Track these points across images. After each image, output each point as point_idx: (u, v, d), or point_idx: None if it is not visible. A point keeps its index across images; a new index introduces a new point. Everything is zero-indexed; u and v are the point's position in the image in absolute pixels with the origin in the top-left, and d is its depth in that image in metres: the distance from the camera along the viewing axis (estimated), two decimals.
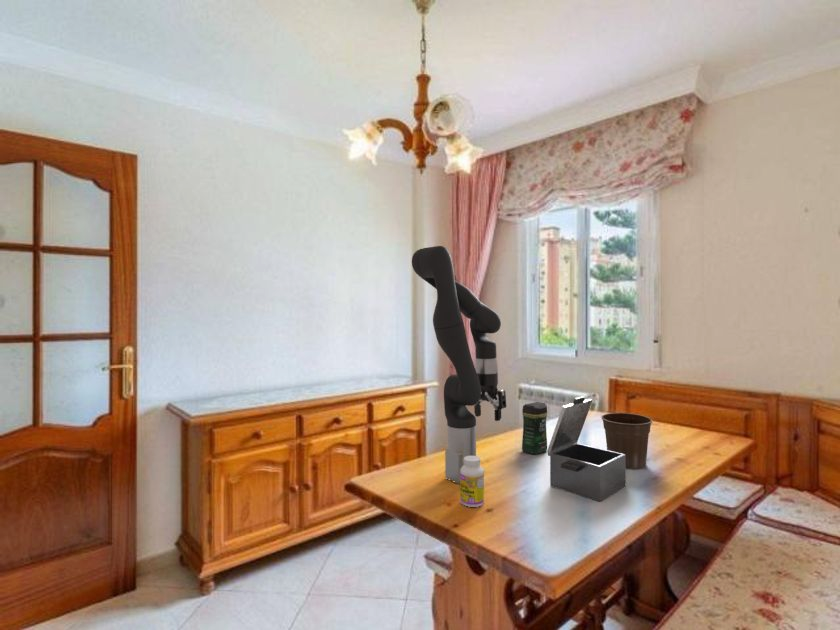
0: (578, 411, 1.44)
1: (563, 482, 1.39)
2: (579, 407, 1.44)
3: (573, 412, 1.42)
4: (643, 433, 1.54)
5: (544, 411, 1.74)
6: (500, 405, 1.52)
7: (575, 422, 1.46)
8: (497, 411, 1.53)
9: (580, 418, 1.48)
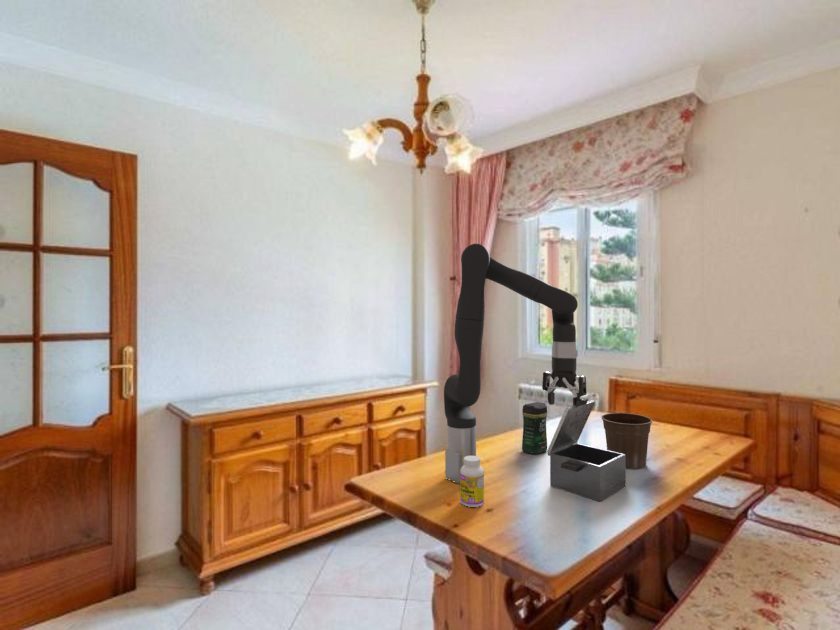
0: (580, 412, 1.44)
1: (563, 482, 1.39)
2: (582, 408, 1.43)
3: (575, 413, 1.42)
4: (643, 433, 1.54)
5: (544, 411, 1.74)
6: (580, 392, 1.41)
7: (577, 423, 1.46)
8: (576, 398, 1.43)
9: (582, 419, 1.47)
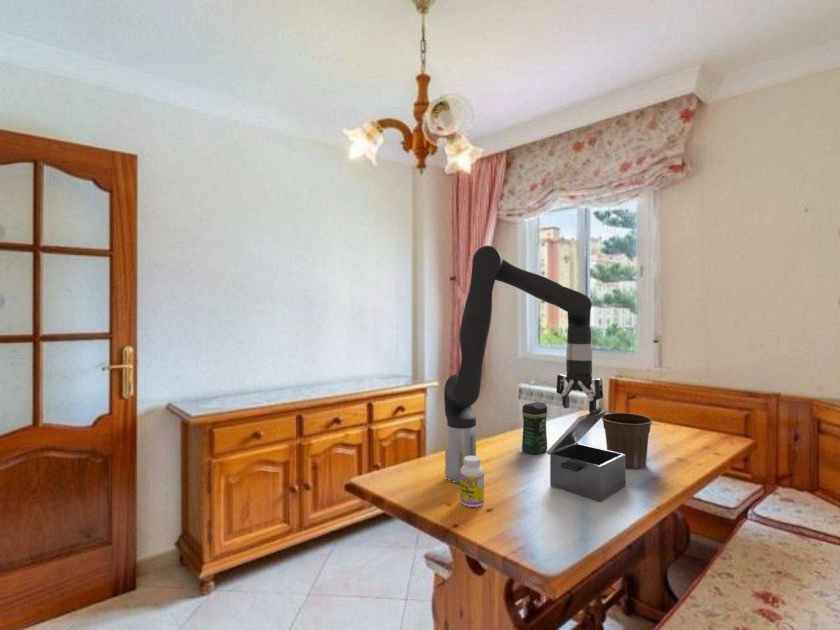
0: (590, 421, 1.42)
1: (563, 482, 1.39)
2: (593, 418, 1.41)
3: (585, 422, 1.39)
4: (643, 433, 1.54)
5: (544, 411, 1.74)
6: (597, 395, 1.37)
7: (583, 429, 1.44)
8: (592, 402, 1.39)
9: (589, 425, 1.45)
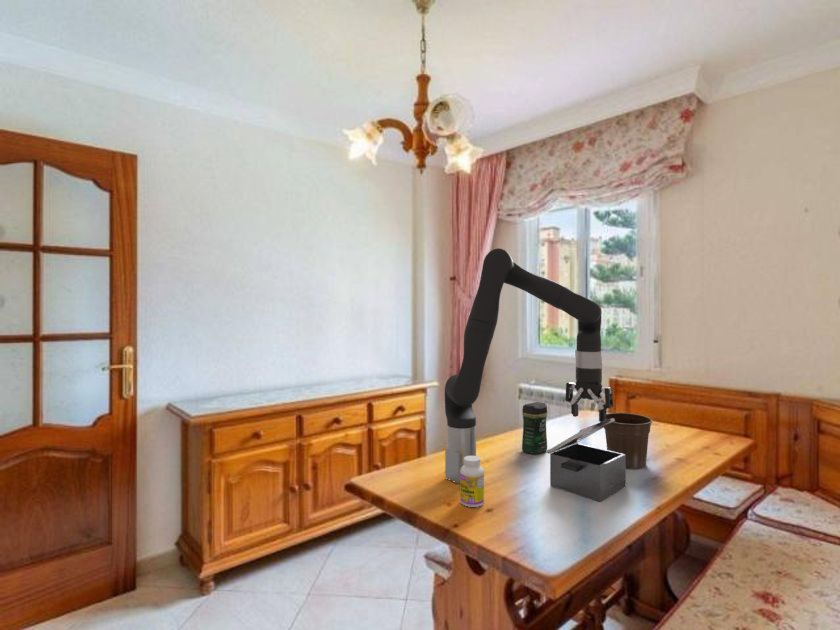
0: (596, 429, 1.40)
1: (563, 482, 1.39)
2: (600, 427, 1.39)
3: (592, 430, 1.38)
4: (643, 433, 1.54)
5: (544, 411, 1.74)
6: (607, 404, 1.35)
7: (587, 434, 1.43)
8: (602, 411, 1.37)
9: (594, 431, 1.44)
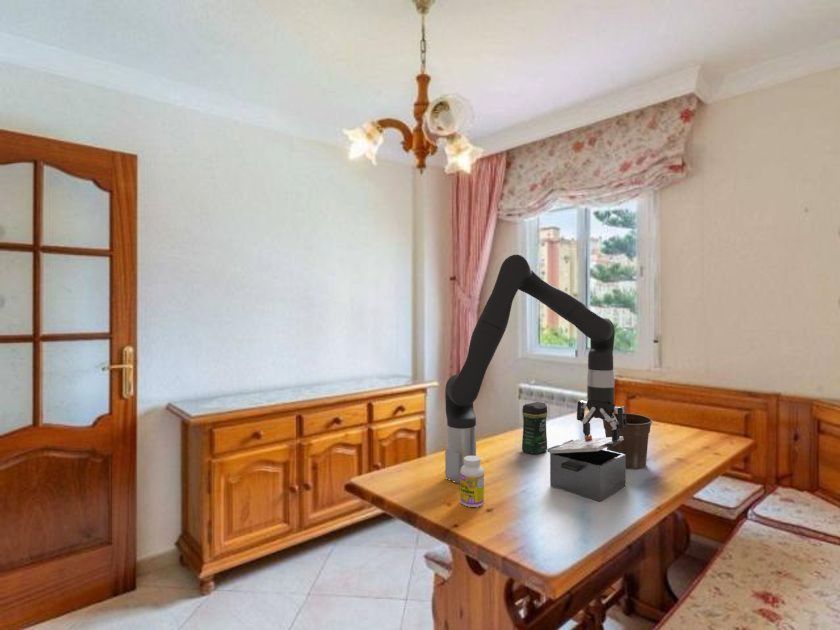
0: None
1: (563, 482, 1.39)
2: None
3: None
4: (643, 433, 1.54)
5: (544, 411, 1.74)
6: (620, 424, 1.32)
7: None
8: (615, 431, 1.34)
9: None
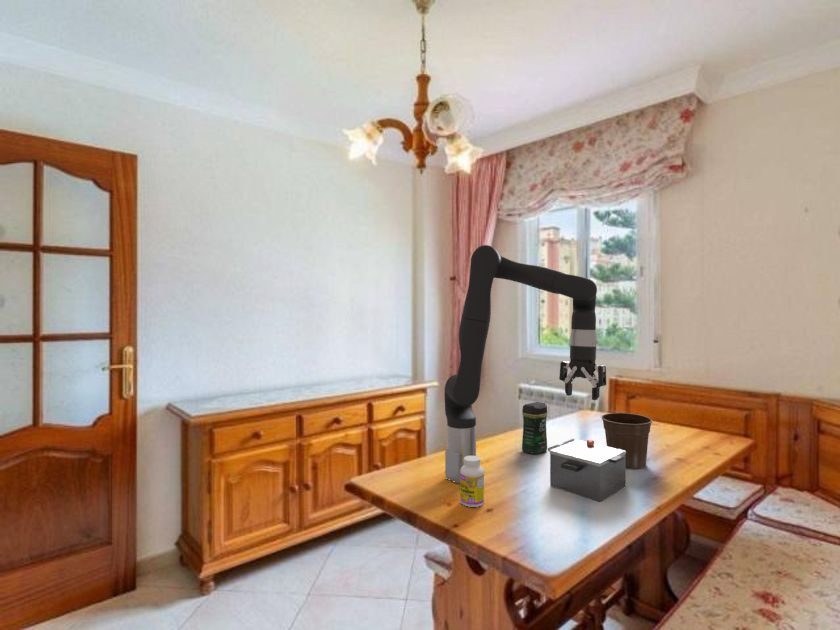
0: None
1: (563, 482, 1.39)
2: None
3: None
4: (643, 433, 1.54)
5: (544, 411, 1.74)
6: (600, 382, 1.35)
7: None
8: (595, 389, 1.36)
9: None
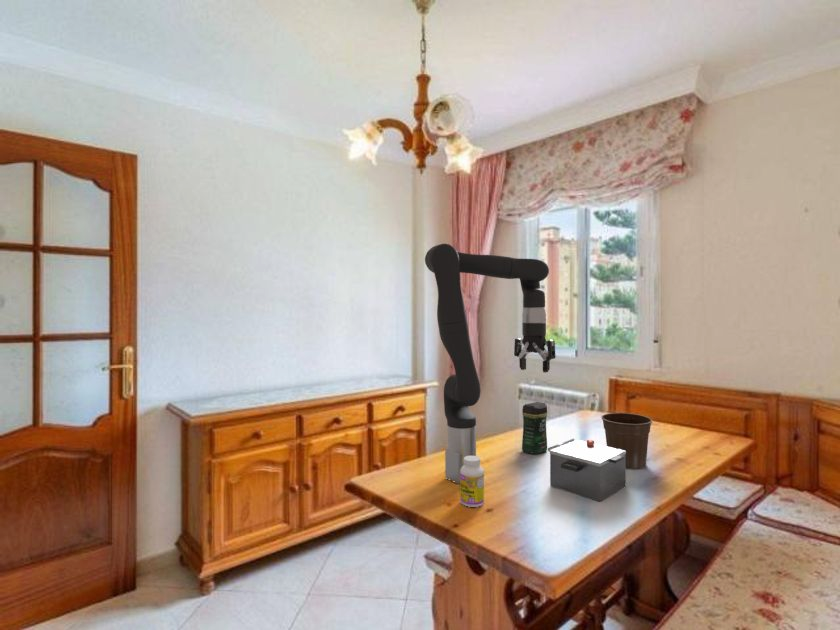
0: None
1: (563, 482, 1.39)
2: None
3: None
4: (643, 433, 1.54)
5: (544, 411, 1.74)
6: (549, 355, 1.46)
7: None
8: (545, 362, 1.47)
9: None
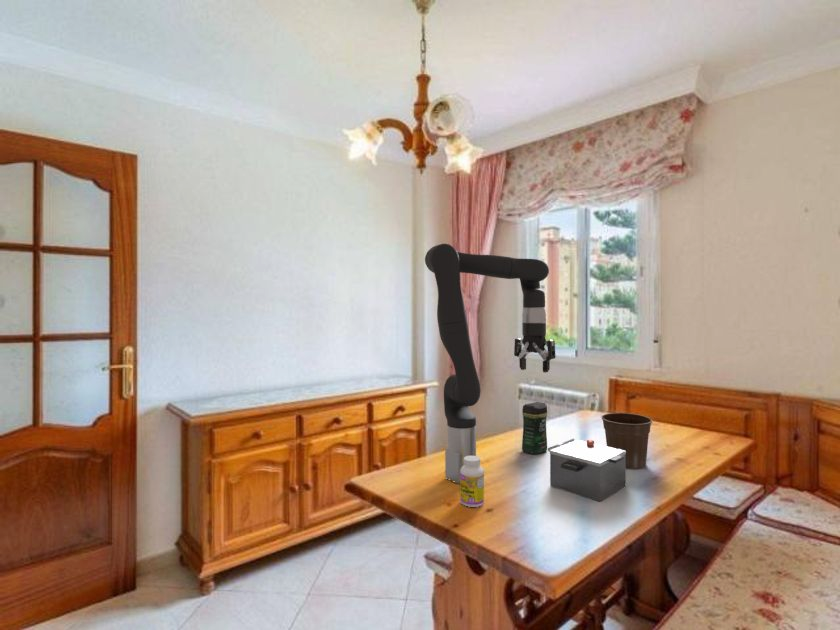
0: None
1: (563, 482, 1.39)
2: None
3: None
4: (643, 433, 1.54)
5: (544, 411, 1.74)
6: (549, 355, 1.46)
7: None
8: (545, 362, 1.47)
9: None
